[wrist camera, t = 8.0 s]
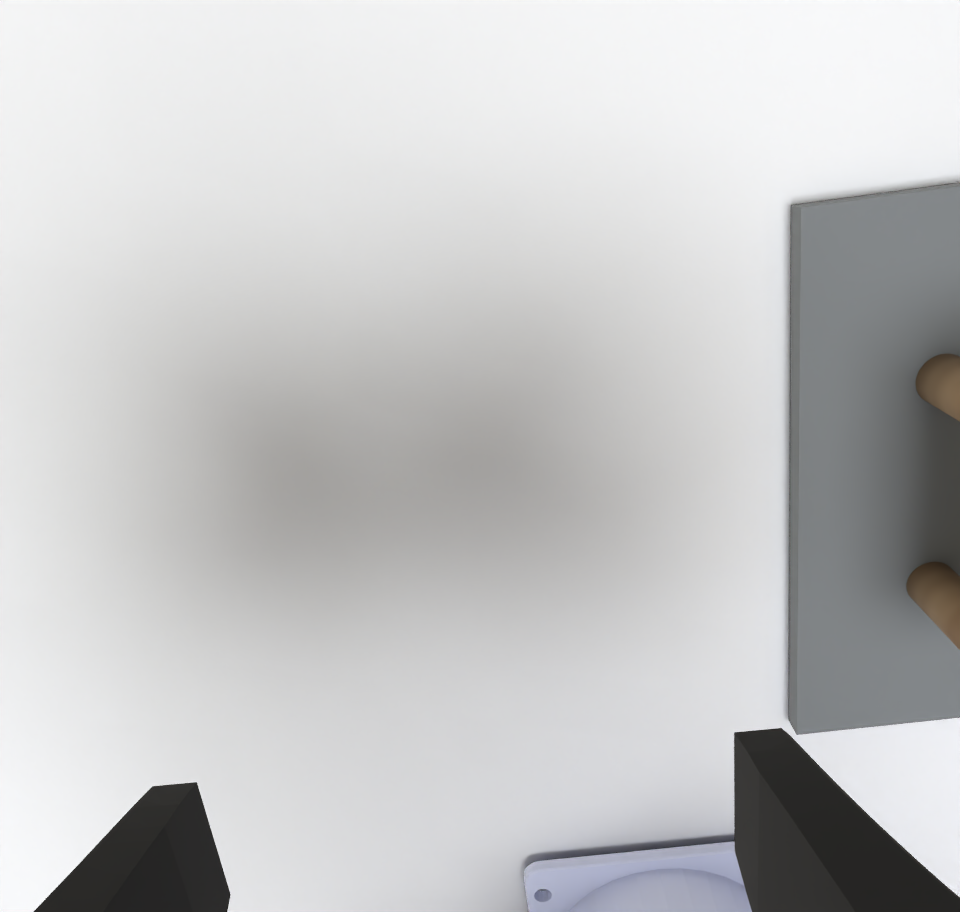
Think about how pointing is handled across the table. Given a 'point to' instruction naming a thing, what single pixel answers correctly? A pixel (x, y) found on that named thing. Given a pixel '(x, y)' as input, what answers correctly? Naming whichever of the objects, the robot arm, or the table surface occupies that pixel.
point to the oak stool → (935, 584)
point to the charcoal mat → (871, 457)
